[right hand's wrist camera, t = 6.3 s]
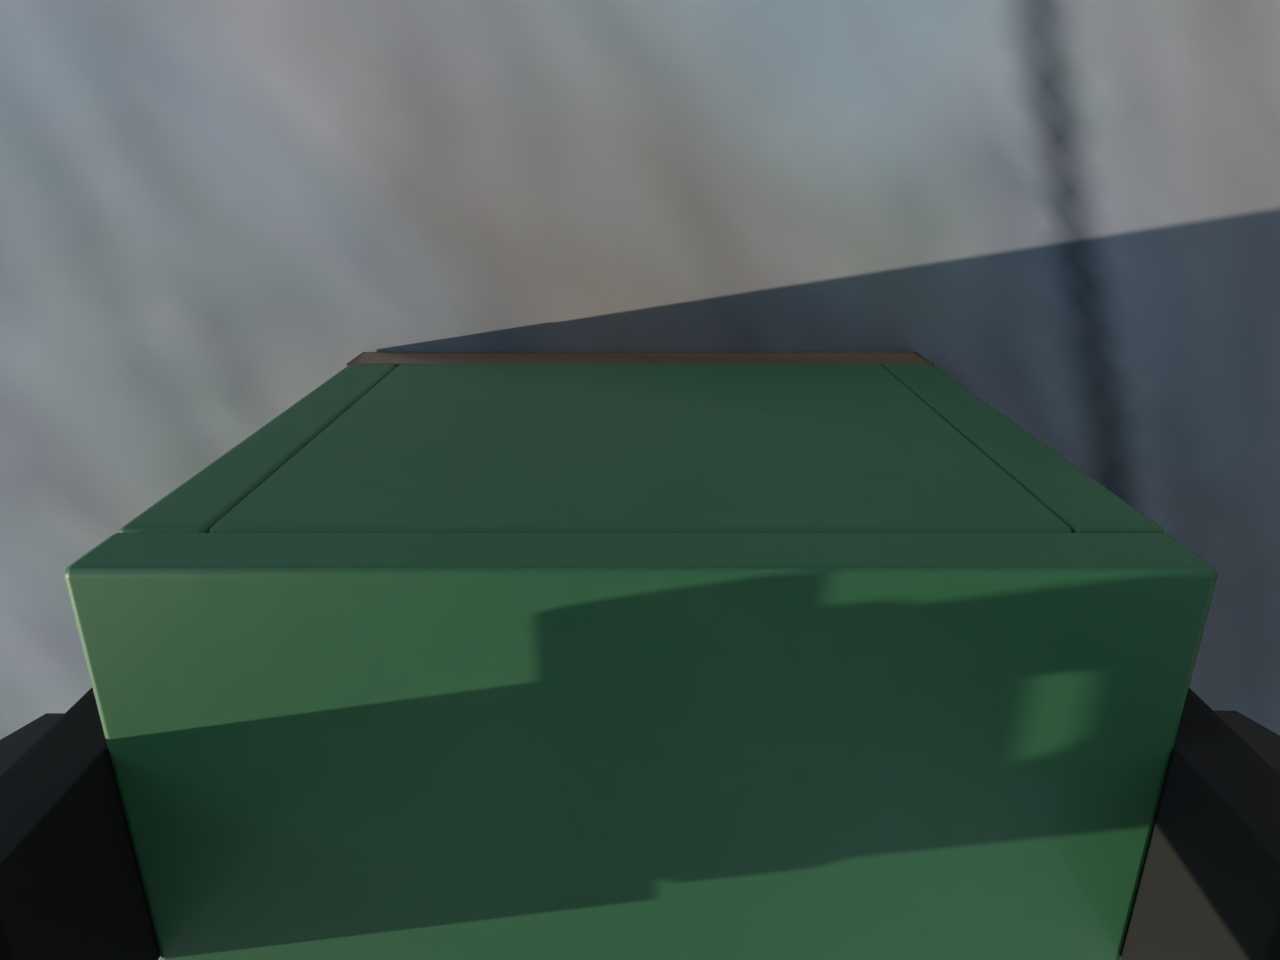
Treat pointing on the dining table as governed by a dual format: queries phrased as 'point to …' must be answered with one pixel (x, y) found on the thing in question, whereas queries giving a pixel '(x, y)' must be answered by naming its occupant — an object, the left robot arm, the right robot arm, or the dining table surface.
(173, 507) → the cabinet
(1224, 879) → the right robot arm
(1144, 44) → the dining table surface
